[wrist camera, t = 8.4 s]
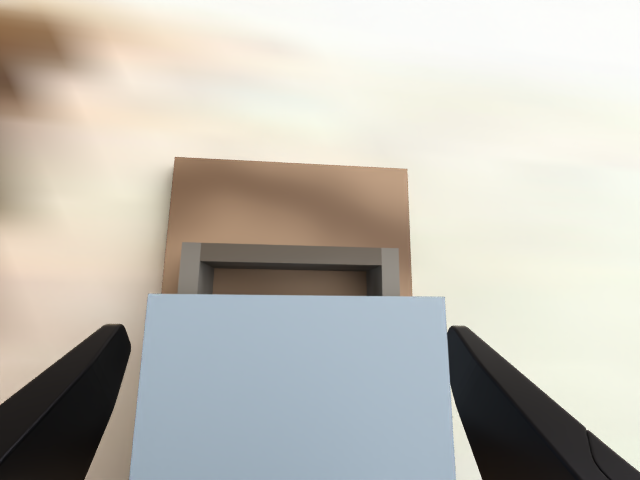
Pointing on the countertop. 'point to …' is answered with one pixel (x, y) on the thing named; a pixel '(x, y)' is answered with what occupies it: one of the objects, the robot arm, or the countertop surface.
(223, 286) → the jig cradle
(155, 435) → the block
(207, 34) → the countertop surface
